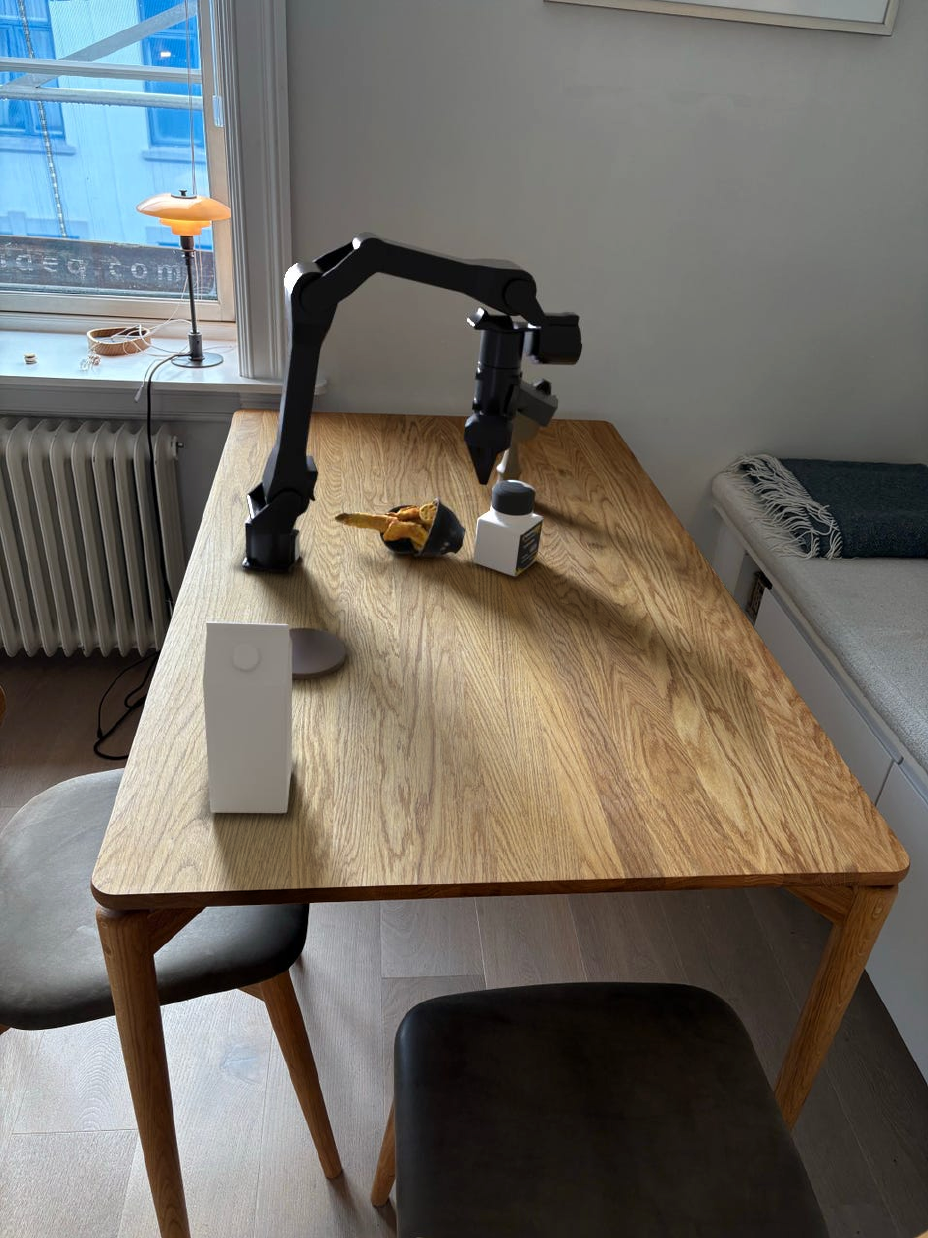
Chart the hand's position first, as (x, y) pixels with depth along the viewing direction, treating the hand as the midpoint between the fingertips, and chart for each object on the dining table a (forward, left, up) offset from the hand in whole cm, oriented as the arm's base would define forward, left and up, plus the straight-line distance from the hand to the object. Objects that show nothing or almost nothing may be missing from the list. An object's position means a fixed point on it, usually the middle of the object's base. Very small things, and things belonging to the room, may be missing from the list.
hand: (486, 472), depth 134 cm
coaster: (-18, -33, -13) cm, 40 cm away
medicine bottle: (+4, -2, -13) cm, 14 cm away
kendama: (+3, +22, -13) cm, 26 cm away
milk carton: (-17, -57, -13) cm, 61 cm away
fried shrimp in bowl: (-11, -2, -13) cm, 17 cm away
